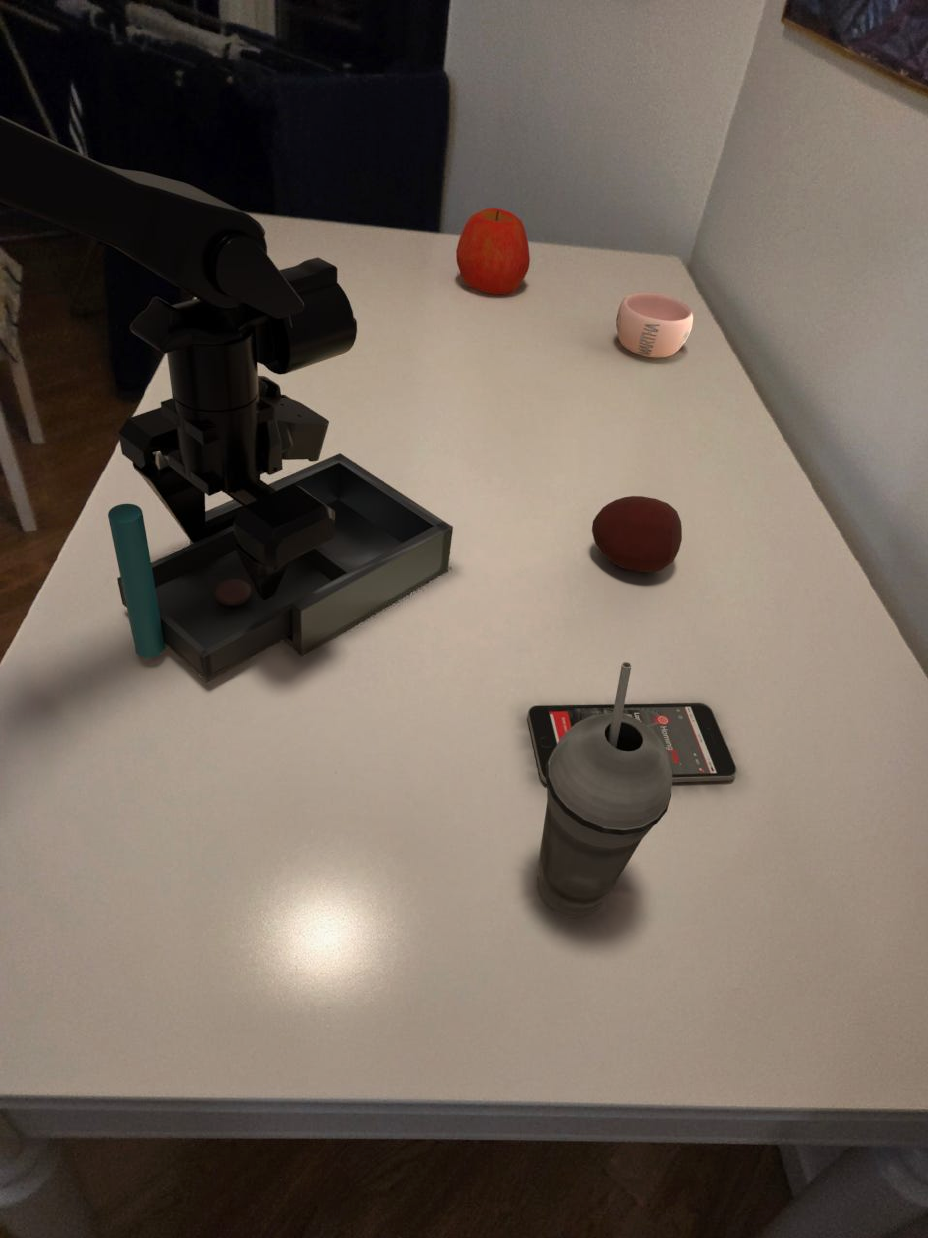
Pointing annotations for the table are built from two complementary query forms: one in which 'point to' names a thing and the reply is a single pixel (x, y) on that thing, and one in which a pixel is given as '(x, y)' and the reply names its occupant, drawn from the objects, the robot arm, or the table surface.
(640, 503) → the potato
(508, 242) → the apple
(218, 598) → the chocolate truffle
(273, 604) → the black compartment tray
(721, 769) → the smartphone
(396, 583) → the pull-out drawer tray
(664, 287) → the table surface
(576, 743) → the beverage cup
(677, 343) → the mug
